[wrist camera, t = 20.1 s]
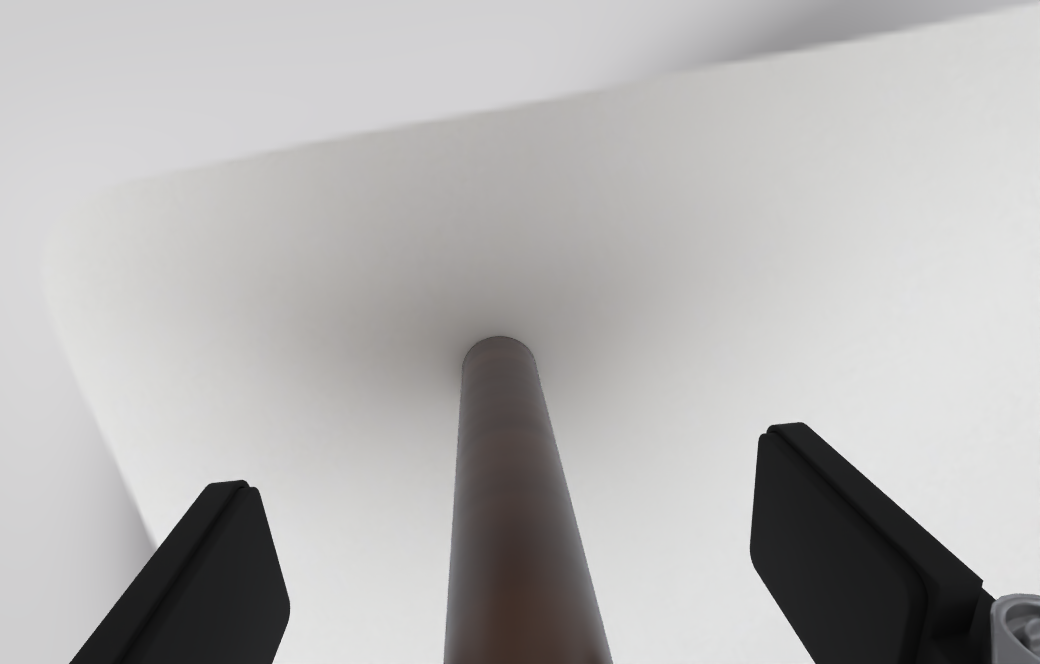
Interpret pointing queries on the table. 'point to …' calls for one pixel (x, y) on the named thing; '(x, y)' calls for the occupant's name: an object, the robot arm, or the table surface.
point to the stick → (515, 526)
